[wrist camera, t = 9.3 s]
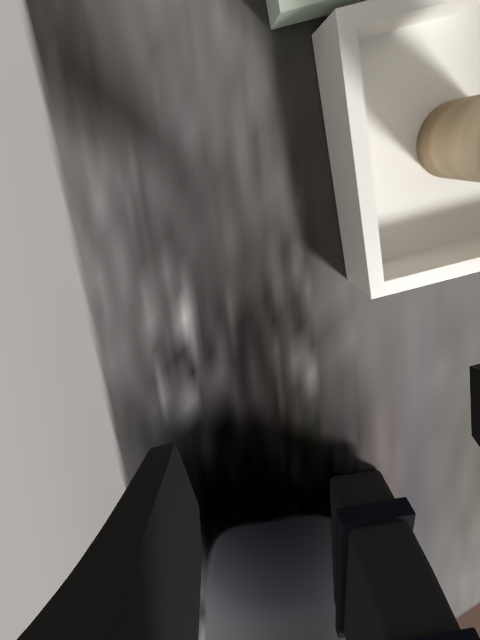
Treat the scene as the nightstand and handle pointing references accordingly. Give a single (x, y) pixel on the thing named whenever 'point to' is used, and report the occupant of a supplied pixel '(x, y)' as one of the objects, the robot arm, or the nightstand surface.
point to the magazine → (383, 567)
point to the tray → (398, 138)
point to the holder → (301, 10)
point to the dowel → (452, 140)
